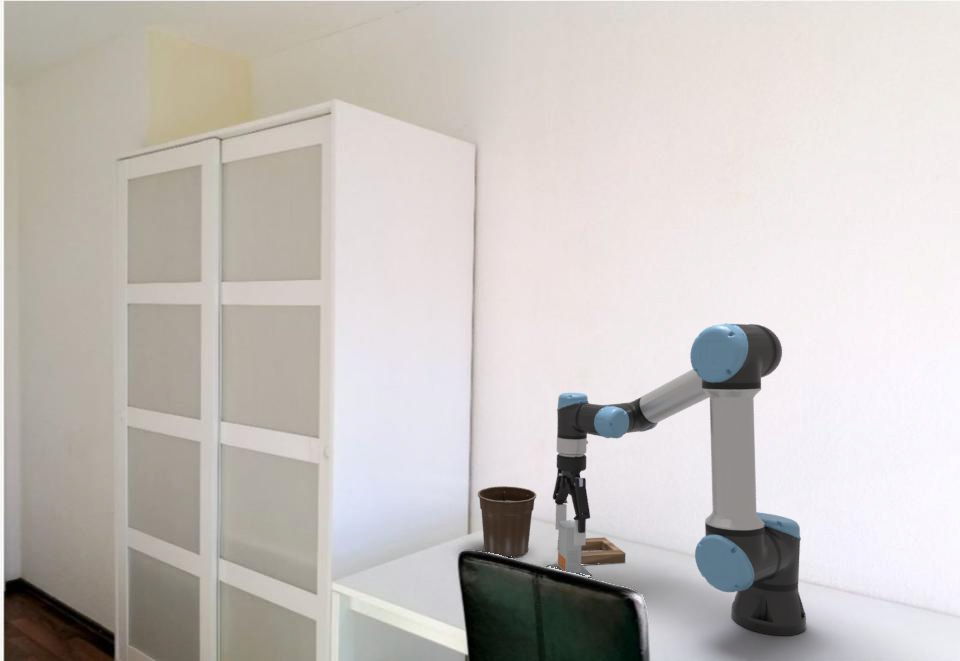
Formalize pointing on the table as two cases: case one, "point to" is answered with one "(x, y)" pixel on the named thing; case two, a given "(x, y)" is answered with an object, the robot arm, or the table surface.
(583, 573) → the mat
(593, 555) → the frame
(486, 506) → the plant pot
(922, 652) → the table surface
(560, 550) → the skincare box
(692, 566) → the table surface
